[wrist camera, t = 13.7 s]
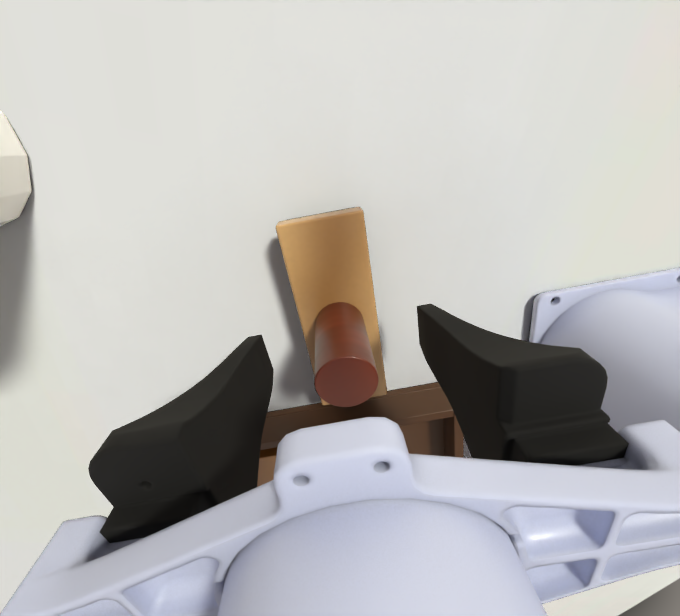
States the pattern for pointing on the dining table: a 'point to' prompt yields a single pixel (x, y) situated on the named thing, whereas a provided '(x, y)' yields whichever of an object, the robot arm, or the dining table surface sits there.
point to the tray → (397, 405)
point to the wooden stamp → (335, 303)
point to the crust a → (266, 465)
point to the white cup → (12, 173)
